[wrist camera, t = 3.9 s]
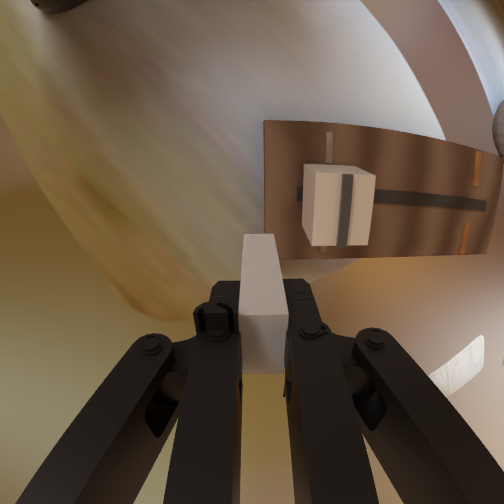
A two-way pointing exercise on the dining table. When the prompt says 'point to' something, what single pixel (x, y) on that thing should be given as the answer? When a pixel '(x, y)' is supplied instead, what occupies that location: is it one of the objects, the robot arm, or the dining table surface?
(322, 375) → the robot arm
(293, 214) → the fader panel
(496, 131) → the coffee pot
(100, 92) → the dining table surface
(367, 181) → the fader knob
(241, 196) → the dining table surface
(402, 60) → the dining table surface
